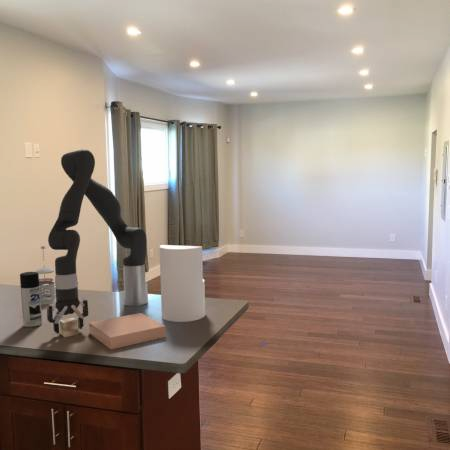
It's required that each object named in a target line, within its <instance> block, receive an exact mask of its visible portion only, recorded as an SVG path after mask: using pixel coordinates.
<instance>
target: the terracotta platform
mask: <svg viewBox="0 0 450 450" xmlns="http://www.w3.org/2000/svg"><path fill="white" fill-rule="evenodd" d="M88 325H89V326H88V329H89V330H88V331H89V334H90V335H91V336H92V337H94V338H95V339H96V340H97V341H99V342H100V343H102V344H103V345H105V346H106V347H107V348H108V349H110V350H115V349H118V348H124V347H129V346H133V345H136V344H141V343H145V342H149V341H150V340H151V341H154V339H155V340H158V338H159V339H162V338H163V337H164V338H166V337H167V336H166V335H167V333H166V325H164V324H162V323H161V322H159V321H157V320H156V319H154V318H152V317H149V316H148V315H146V314H145V313H141V312H138V313H133V314H128V315H127V314H126V315H122V316H116V317H112V318H105V319H100V320H95V321H90V322H88ZM164 338H163V339H164Z"/></svg>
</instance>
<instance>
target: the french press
mask: <svg viewBox="0 0 450 450" xmlns="http://www.w3.org/2000/svg"><path fill="white" fill-rule="evenodd" d="M40 249H41V250H42V254H43V255H42V259H43V260H45V256H44V255H45V253H44V250H45V249H46V247H45V245H43V246H40ZM54 271H55V269H52V268H50V267H46V266H43V267H40V268H38V269H36V270H35V271H34V272H38V274H40V275H43V274H44V278H39V285H40V300H41V305H51V304H55V303H56V287H55V281H54V279H53V278H51V277H48V278H46V275H47V274H51V273H54Z"/></svg>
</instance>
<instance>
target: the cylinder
mask: <svg viewBox="0 0 450 450" xmlns="http://www.w3.org/2000/svg"><path fill="white" fill-rule="evenodd" d="M203 262H204V261H203V246H201V245H200V246H198V245H175V244H173V245H172V244H161V245H159V272H160V274H159V275H160V300H161V301H160V302H161V318H162V319H163V320H165V321H167V322H168V321H169V322H175V323H183V322H184V323H185V322H186V323H187V322H193V321H194V322H195V321H197V320H201V319H203V318H205V316H206V296H205V295H206V292H205V289H206V288H205V285H206V284H205V279H204V270H203V267H204V266H203V264H204V263H203Z"/></svg>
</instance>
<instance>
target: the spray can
mask: <svg viewBox="0 0 450 450" xmlns="http://www.w3.org/2000/svg"><path fill="white" fill-rule="evenodd" d="M39 276H40V275H39V274H38V272H35V271H26V272H21V273H20V274H19V280H20V281H19V284H20V296H21V299H20V300H21V307H22V308H21V309H22V310H21V311H22V321H23V322H22V324H23V326H24V327H25V328H35V327H39V326H41V325H43V320H42V319H43V317H42V304H41V300H40V285H39V279H40V277H39Z"/></svg>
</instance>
